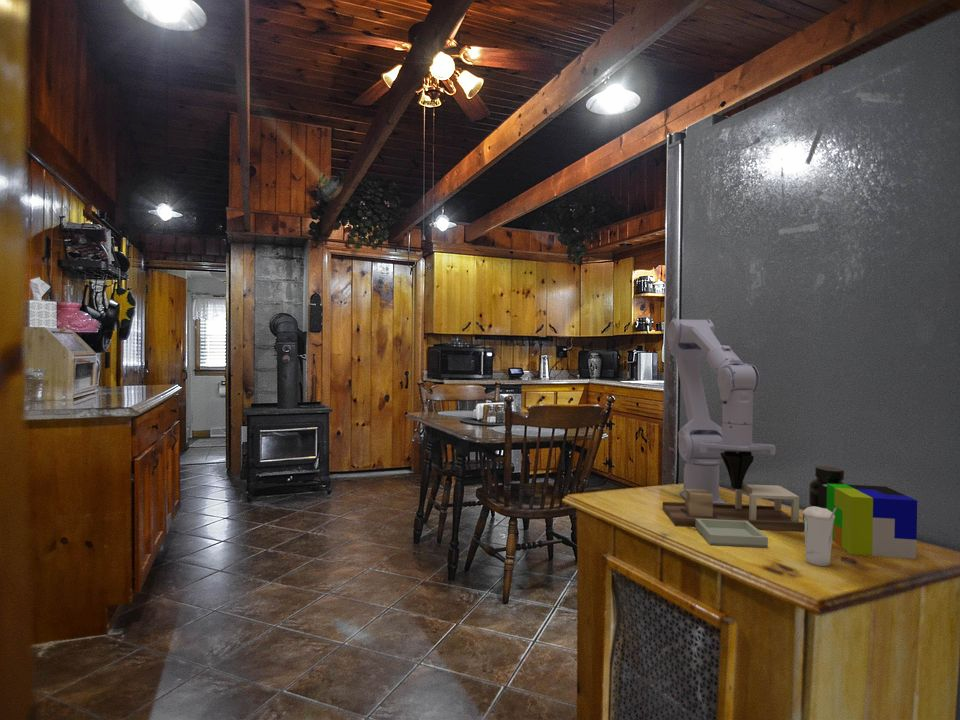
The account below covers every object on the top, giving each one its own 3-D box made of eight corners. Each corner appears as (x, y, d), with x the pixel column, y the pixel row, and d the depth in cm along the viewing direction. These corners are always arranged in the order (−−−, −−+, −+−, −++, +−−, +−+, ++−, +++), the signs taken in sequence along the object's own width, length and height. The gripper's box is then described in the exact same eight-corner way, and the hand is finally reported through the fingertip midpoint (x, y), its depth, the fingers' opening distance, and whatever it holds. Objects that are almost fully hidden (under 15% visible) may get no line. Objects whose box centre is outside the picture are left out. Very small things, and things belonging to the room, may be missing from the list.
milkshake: (823, 571, 87) (824, 508, 86) (795, 559, 92) (796, 499, 92) (845, 568, 88) (846, 506, 88) (816, 556, 93) (817, 498, 93)
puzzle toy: (916, 559, 92) (917, 500, 92) (850, 554, 94) (851, 496, 94) (885, 539, 102) (886, 486, 102) (826, 535, 104) (827, 483, 104)
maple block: (684, 509, 117) (685, 489, 116) (706, 510, 116) (706, 489, 116) (690, 515, 112) (690, 494, 112) (712, 516, 112) (712, 495, 112)
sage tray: (695, 527, 108) (695, 518, 108) (747, 529, 107) (747, 520, 107) (710, 544, 98) (710, 535, 98) (767, 547, 97) (767, 537, 97)
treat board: (662, 508, 121) (662, 501, 121) (779, 513, 118) (779, 506, 118) (675, 525, 109) (675, 517, 109) (805, 531, 106) (805, 523, 106)
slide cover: (732, 507, 118) (733, 479, 118) (779, 509, 117) (779, 481, 116) (748, 520, 109) (748, 489, 109) (798, 522, 108) (799, 491, 108)
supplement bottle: (803, 528, 108) (804, 468, 108) (813, 520, 113) (814, 463, 113) (844, 536, 103) (845, 473, 103) (852, 528, 108) (853, 468, 108)
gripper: (706, 424, 110) (705, 491, 110) (782, 426, 108) (781, 494, 108) (696, 420, 117) (695, 483, 117) (767, 421, 115) (766, 485, 115)
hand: (736, 488), depth 113 cm, fingers closed
